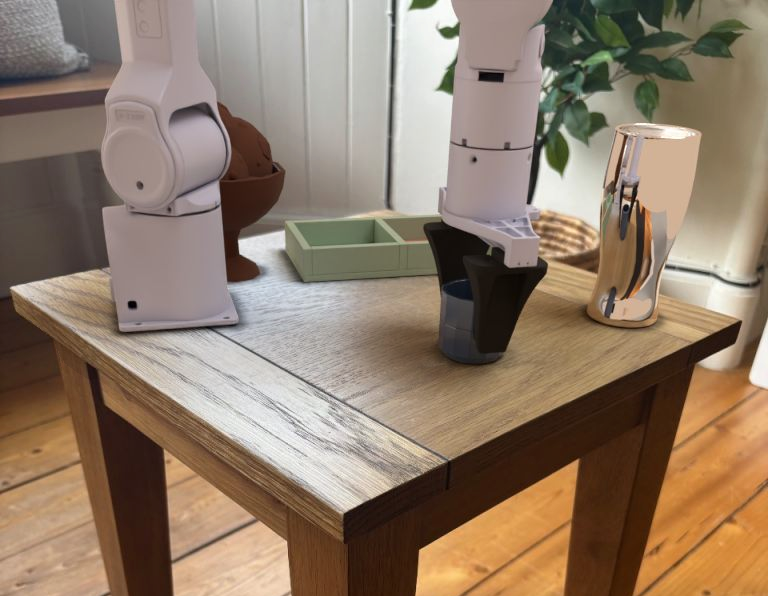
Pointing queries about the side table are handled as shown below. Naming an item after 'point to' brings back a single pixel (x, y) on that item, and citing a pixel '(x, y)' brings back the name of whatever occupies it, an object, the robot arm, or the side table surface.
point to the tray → (360, 247)
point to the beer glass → (641, 218)
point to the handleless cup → (460, 324)
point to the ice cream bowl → (246, 190)
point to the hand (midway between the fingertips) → (473, 332)
